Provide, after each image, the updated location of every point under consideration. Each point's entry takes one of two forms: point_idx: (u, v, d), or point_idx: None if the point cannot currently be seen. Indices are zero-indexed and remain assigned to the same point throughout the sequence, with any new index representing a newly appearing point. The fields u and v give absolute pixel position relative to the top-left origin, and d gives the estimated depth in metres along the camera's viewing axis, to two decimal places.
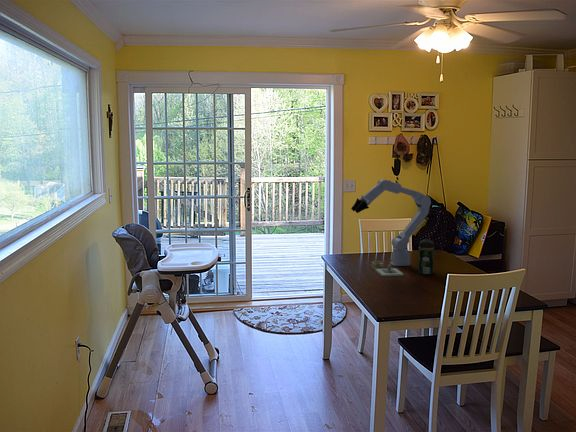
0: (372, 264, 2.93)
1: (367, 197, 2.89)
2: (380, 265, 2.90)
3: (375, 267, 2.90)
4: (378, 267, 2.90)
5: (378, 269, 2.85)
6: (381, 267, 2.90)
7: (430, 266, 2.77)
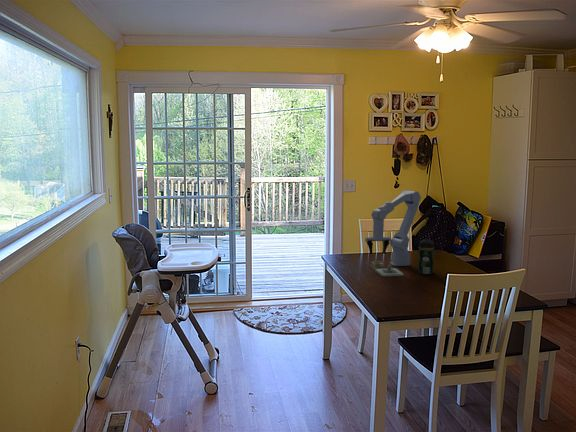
0: (372, 264, 2.93)
1: None
2: (380, 265, 2.90)
3: (375, 267, 2.90)
4: (378, 267, 2.90)
5: (378, 269, 2.85)
6: (381, 267, 2.90)
7: (430, 266, 2.77)
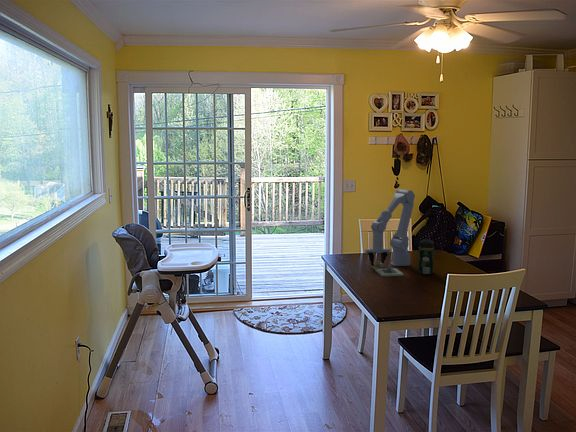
0: None
1: (382, 248, 2.90)
2: (380, 265, 2.90)
3: (375, 267, 2.90)
4: (378, 267, 2.90)
5: (378, 269, 2.85)
6: (381, 267, 2.90)
7: (430, 266, 2.77)
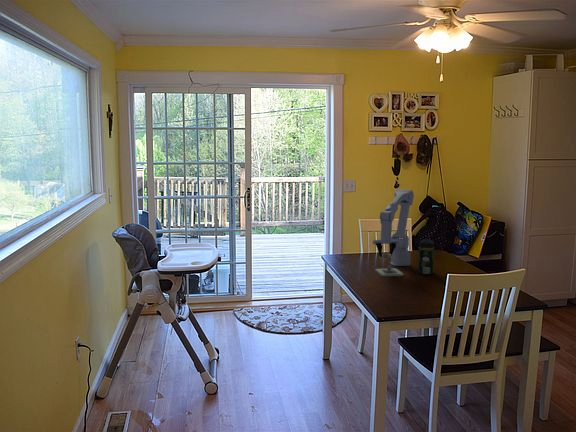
0: None
1: (391, 238, 2.81)
2: (388, 256, 2.82)
3: (383, 258, 2.81)
4: (386, 258, 2.82)
5: (378, 269, 2.85)
6: (389, 258, 2.82)
7: (430, 266, 2.77)
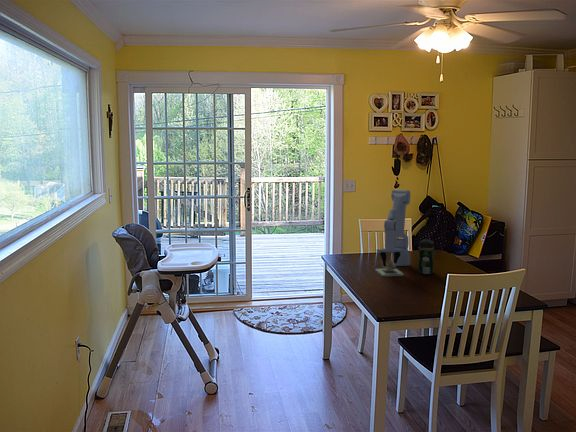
0: None
1: (395, 247, 2.78)
2: (393, 265, 2.79)
3: (387, 267, 2.78)
4: (390, 267, 2.79)
5: (378, 269, 2.85)
6: (394, 267, 2.79)
7: (430, 266, 2.77)
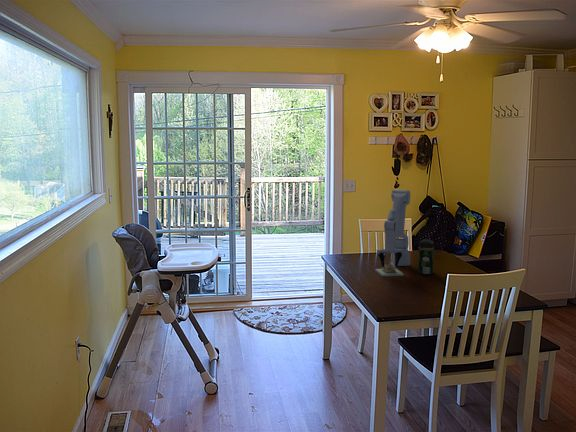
0: (384, 267, 2.82)
1: (395, 248, 2.78)
2: (392, 268, 2.79)
3: (387, 270, 2.79)
4: (390, 270, 2.79)
5: (378, 269, 2.85)
6: (393, 270, 2.79)
7: (430, 266, 2.77)
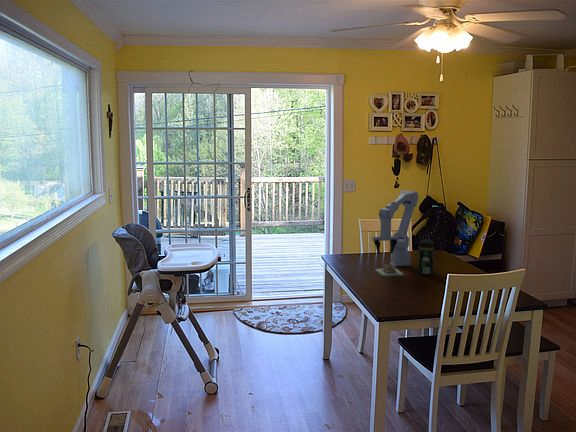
0: (384, 267, 2.82)
1: (390, 235, 2.86)
2: (392, 268, 2.79)
3: (387, 270, 2.79)
4: (390, 270, 2.79)
5: (378, 269, 2.85)
6: (393, 270, 2.79)
7: (430, 266, 2.77)
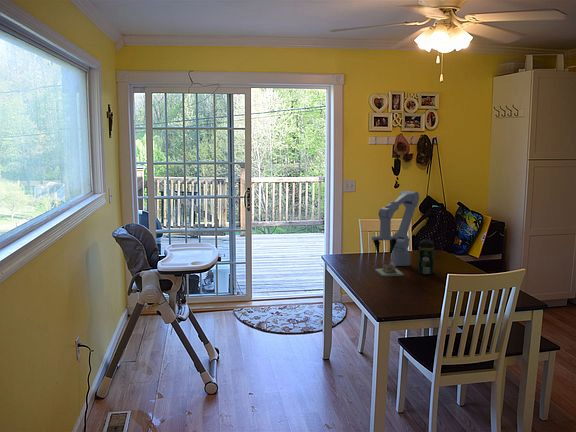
0: (384, 267, 2.82)
1: None
2: (392, 268, 2.79)
3: (387, 270, 2.79)
4: (390, 270, 2.79)
5: (378, 269, 2.85)
6: (393, 270, 2.79)
7: (430, 266, 2.77)
